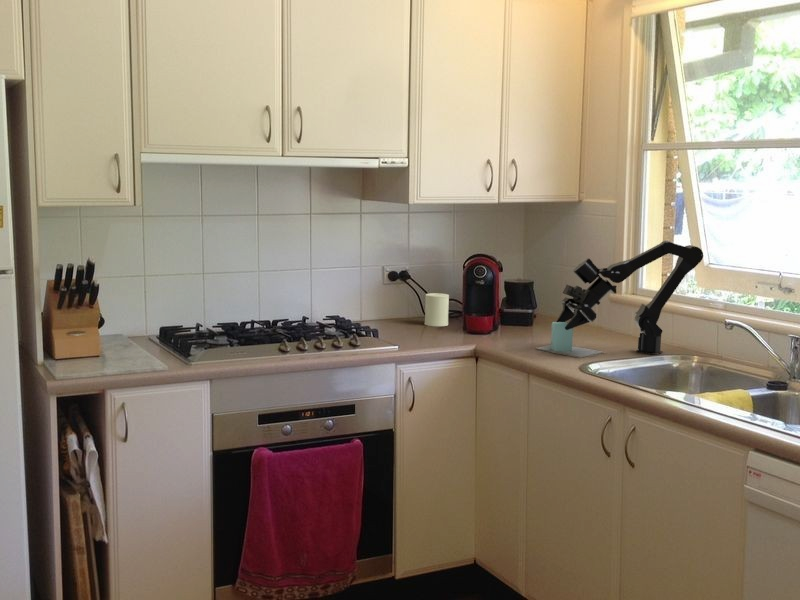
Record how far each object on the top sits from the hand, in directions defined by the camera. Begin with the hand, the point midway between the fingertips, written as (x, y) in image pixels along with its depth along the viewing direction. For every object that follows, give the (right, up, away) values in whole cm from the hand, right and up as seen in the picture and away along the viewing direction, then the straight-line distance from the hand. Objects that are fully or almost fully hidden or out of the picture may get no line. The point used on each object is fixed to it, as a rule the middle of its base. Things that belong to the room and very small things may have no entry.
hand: (560, 326), depth 300 cm
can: (-39, -1, +49) cm, 63 cm away
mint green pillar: (0, -8, +1) cm, 8 cm away
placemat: (+3, -8, +1) cm, 9 cm away
